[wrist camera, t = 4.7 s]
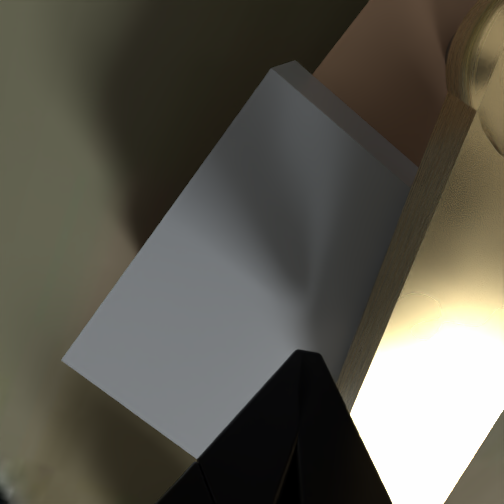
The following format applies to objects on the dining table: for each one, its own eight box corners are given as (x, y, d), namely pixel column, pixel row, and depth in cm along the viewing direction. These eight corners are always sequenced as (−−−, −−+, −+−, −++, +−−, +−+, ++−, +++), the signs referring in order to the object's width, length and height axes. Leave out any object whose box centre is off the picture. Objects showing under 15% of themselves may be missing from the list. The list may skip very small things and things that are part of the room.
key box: (152, 284, 18) (54, 398, 12) (430, -71, 11) (497, -181, 6) (251, 361, 18) (202, 504, 12) (572, 64, 12) (764, 88, 6)
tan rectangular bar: (311, 422, 10) (300, 503, 8) (487, -57, 6) (538, -95, 4) (417, 456, 10) (428, 546, 8) (679, -20, 6) (821, -46, 4)
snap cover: (116, 300, 14) (61, 360, 12) (295, 60, 10) (270, 68, 8) (261, 410, 15) (239, 490, 12) (484, 225, 11) (524, 286, 8)
